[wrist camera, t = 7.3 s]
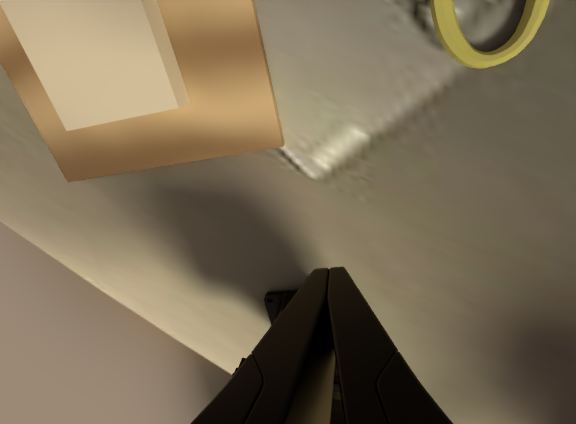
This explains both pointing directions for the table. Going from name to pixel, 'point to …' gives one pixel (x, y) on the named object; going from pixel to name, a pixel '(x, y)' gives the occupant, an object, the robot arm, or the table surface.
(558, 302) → the table surface
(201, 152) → the mat
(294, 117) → the table surface
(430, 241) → the table surface
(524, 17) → the key
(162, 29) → the tile
